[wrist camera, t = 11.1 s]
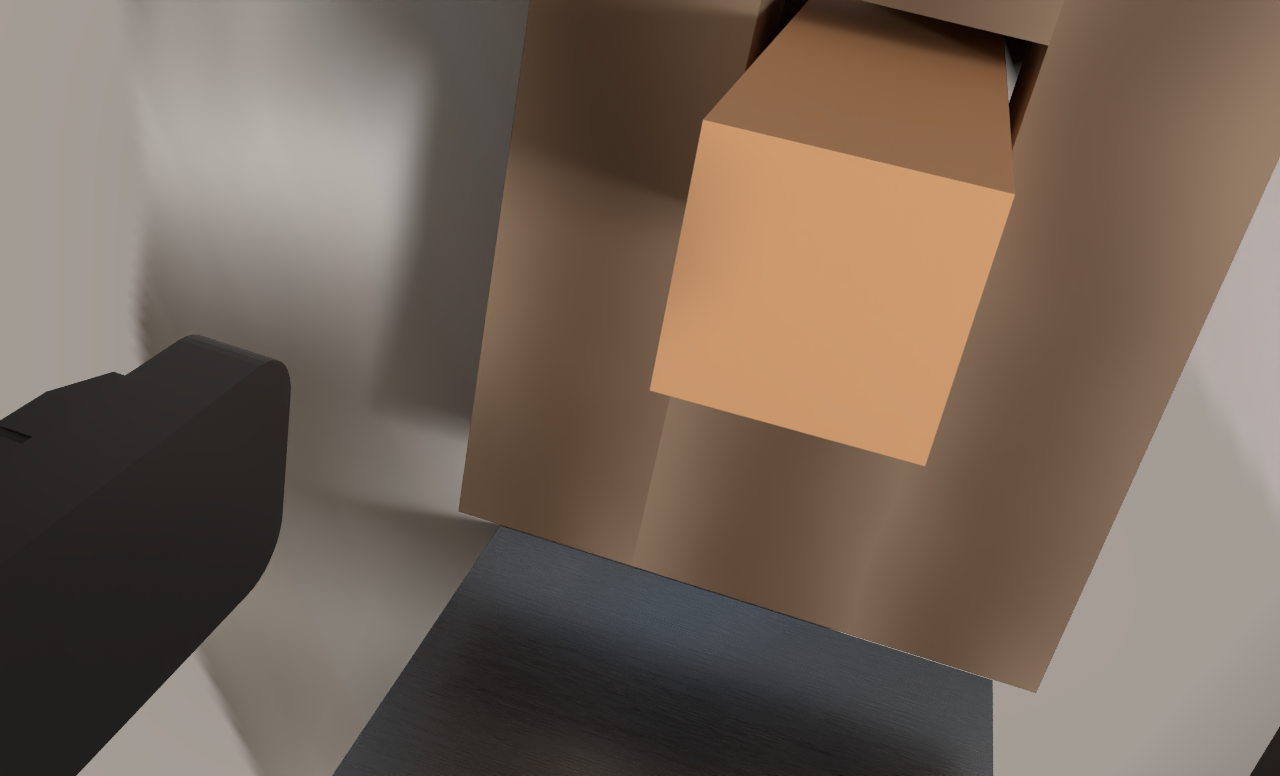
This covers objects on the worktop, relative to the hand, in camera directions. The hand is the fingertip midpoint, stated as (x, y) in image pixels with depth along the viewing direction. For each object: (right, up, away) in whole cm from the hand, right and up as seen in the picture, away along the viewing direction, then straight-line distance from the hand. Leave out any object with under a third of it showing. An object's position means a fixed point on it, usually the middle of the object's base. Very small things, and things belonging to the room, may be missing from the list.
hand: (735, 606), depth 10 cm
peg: (+5, +8, +17) cm, 19 cm away
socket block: (+4, +5, +19) cm, 20 cm away
